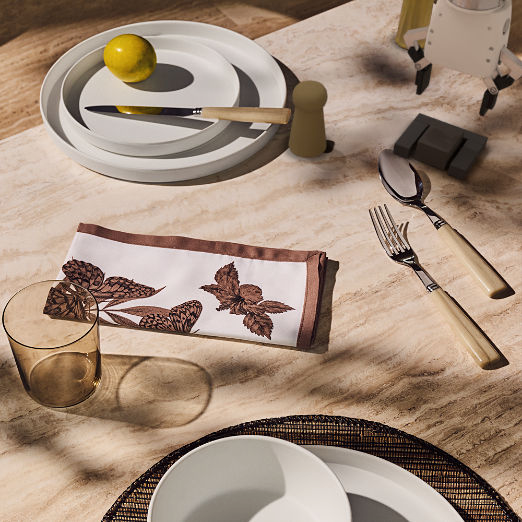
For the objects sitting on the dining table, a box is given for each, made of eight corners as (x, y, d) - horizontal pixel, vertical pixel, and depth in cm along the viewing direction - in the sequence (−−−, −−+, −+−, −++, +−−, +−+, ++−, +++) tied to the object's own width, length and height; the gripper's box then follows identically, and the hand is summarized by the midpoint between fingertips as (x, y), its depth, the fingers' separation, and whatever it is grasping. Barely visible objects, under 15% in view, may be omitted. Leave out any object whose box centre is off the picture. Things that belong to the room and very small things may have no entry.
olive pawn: (309, 162, 105) (313, 104, 97) (280, 146, 108) (281, 87, 99) (334, 144, 108) (339, 85, 99) (305, 127, 111) (307, 69, 102)
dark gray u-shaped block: (485, 147, 107) (488, 137, 105) (462, 180, 102) (465, 170, 100) (417, 122, 111) (419, 112, 110) (392, 153, 106) (394, 143, 105)
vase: (409, 28, 130) (421, -46, 119) (434, 41, 127) (450, -34, 116) (388, 40, 127) (398, -34, 116) (414, 54, 124) (427, -22, 113)
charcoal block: (459, 149, 107) (464, 131, 104) (444, 170, 103) (448, 152, 101) (430, 137, 108) (434, 120, 106) (413, 158, 105) (417, 141, 103)
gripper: (555, -8, 84) (520, 105, 97) (425, -41, 91) (409, 69, 104) (534, 20, 80) (501, 134, 93) (400, -16, 87) (387, 95, 100)
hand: (452, 100), depth 99 cm, fingers open, 9 cm apart
